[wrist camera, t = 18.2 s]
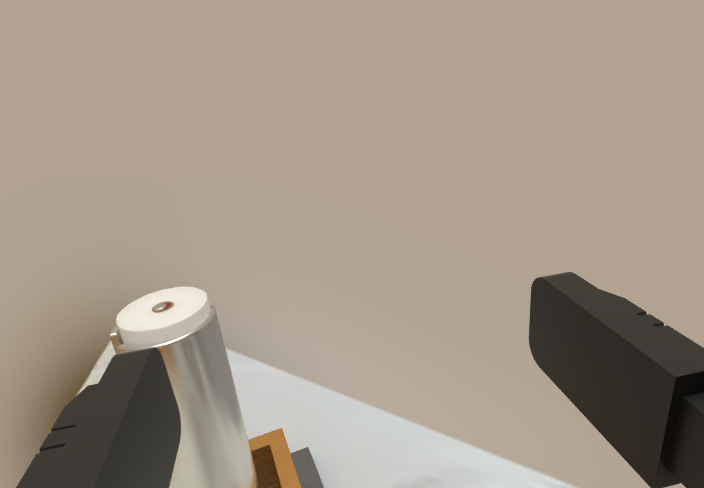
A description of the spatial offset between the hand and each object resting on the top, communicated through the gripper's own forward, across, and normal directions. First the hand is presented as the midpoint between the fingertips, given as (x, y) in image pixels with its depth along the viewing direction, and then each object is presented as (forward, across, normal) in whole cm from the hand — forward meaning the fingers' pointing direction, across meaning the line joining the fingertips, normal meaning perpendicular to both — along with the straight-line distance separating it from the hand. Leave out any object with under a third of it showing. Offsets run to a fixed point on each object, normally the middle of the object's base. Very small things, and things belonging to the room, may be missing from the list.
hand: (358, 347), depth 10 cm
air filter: (+19, +10, +33) cm, 39 cm away
